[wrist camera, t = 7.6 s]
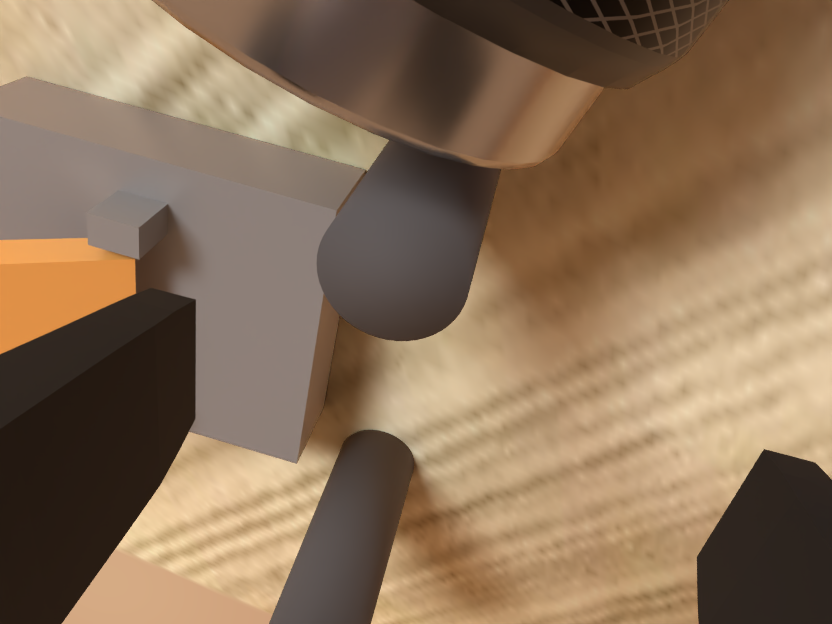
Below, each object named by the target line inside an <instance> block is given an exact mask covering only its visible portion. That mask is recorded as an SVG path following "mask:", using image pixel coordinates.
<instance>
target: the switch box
mask: <svg viewBox="0 0 832 624" xmlns="http://www.w3.org/2000/svg"><path fill="white" fill-rule="evenodd" d="M364 175H365V170H364V169H361V168H357V167H353V166H350V165H346V164H342V163H339V162H335V161H332V160H328V159H324V158H321V157H317V156H313V155H310V154H306V153H303V152H299V151H295V150H292V149H288V148H284V147H281V146H277V145H273V144H270V143H266V142H263V141H259V140H255V139H252V138H248V137H244V136H241V135H237V134H233V133H230V132H226V131H223V130H219V129H215V128H212V127H208V126H204V125H201V124H197V123H194V122H190V121H186V120H183V119H179V118H175V117H172V116H168V115H164V114H161V113H157V112H154V111H150V110H146V109H143V108H139V107H135V106H132V105H128V104H124V103H121V102H117V101H114V100H110V99H106V98H103V97H99V96H95V95H92V94H88V93H85V92H81V91H77V90H74V89H70V88H66V87H63V86H59V85H55V84H52V83H48V82H45V81H41V80H37V79H34V78H30V77H24V78H21V79H19V80H16V81H13V82H11V83H8V84H5V85H3V86H0V240H22V239H62V238H88V245H90V246H93V247H97V248H100V249H104V250H107V251H111V252H114V253H118V254H121V255H125V256H128V257H132V258H135V280H136V293H139V292H141V291H144V290H146V289H149V288H154V289H158V290H162V291H166V292H169V293H173V294H177V295H181V296H185V297H188V298H192V299H196V419H195V421H194V423H193V425H192V427H191V428H190V430H189V432H193V433H196V434H199V435H203V436H206V437H209V438H213V439H216V440H219V441H223V442H226V443H229V444H233V445H236V446H239V447H243V448H246V449H249V450H253V451H256V452H259V453H263V454H266V455H270V456H273V457H276V458H280V459H283V460H286V461H290V462H293V463H296V464H297V462H298V460H299V458H300V456H301V454H302V452H303V450H304V448H305V446H306V443H307V441H308V439H309V437H310V435H311V433H312V431H313V429H314V427H315V424H316V422H317V420H318V418H319V416H320V414H321V412H322V410H323V408H324V402H325V397H326V391H327V385H328V380H329V374H330V368H331V363H332V357H333V351H334V346H335V340H336V334H337V329H338V323H339V317H340V315H339V314H338V313H337V312H336V311H335V309H334V308H333V307H332V306H331V304H330V303H329V301H328V300H327V298H326V297H325V295H324V293H323V291H322V288H321V285H320V283H319V279H318V274H317V264H316V263H317V253H318V248H319V245H320V242H321V240H322V237H323V236H324V234H325V232H326V230H327V229H328V228H329V226H330V225H331V223H332V222H333V220H334V219H335V217H336V216H337V215H338V213H339V212H340V210H341V209H342V207H343V206H344V205H345V203H346V202H347V200H348V199H349V197H350V196H351V195H352V193H353V192H354V190H355V189H356V187H357V186H358V185H359V183H360V182H361V180H362V179H363V177H364Z"/></svg>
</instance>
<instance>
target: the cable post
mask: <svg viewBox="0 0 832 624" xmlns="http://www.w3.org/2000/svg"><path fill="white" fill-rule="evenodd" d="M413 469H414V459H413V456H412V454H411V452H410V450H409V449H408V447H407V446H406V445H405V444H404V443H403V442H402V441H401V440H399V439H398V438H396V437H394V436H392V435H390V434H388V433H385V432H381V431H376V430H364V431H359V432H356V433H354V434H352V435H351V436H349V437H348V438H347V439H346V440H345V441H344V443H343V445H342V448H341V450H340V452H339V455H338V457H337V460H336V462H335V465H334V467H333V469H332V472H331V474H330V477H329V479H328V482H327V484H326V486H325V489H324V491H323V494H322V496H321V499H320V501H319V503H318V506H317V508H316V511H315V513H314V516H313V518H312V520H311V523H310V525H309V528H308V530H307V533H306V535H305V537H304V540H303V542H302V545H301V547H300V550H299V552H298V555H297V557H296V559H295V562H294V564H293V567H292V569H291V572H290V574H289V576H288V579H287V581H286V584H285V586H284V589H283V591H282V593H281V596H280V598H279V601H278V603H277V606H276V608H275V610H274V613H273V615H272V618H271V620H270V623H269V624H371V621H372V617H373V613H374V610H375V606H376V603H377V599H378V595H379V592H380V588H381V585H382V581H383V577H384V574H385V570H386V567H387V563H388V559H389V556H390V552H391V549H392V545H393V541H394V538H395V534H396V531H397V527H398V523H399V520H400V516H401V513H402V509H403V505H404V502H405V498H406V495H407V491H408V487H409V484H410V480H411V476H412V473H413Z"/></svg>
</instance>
